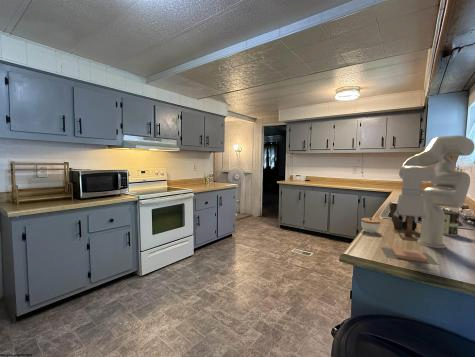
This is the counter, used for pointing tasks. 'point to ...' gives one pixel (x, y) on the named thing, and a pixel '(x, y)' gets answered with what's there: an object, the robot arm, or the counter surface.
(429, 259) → the mat
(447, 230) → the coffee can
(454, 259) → the counter surface
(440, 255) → the counter surface
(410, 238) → the wooden pedestal stand
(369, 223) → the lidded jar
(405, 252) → the tile
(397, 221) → the plant pot
